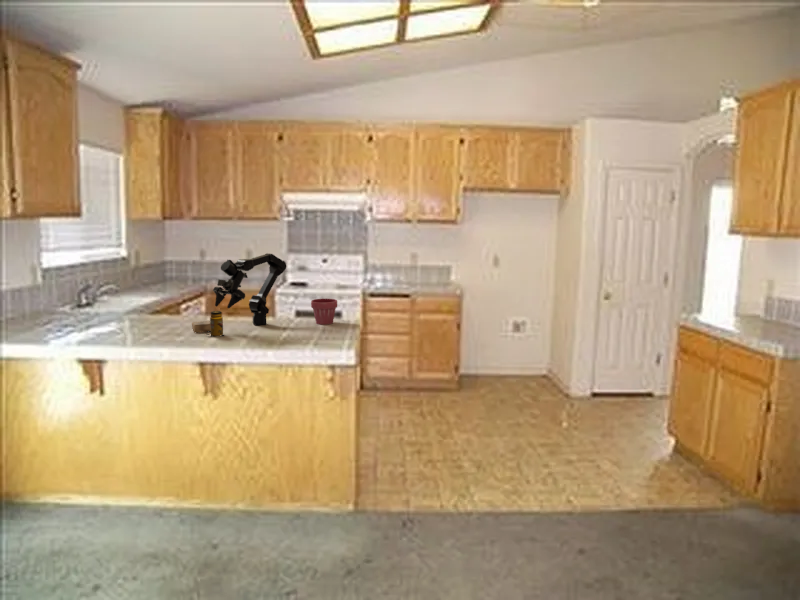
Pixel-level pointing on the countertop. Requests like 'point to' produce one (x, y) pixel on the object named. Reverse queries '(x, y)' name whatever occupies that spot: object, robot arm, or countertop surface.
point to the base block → (201, 326)
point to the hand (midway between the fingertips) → (221, 307)
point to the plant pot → (324, 310)
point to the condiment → (216, 323)
